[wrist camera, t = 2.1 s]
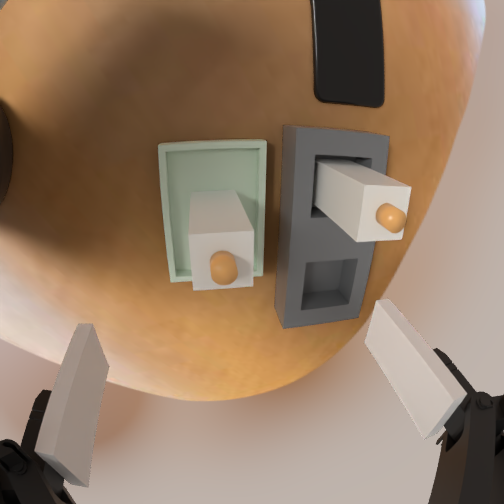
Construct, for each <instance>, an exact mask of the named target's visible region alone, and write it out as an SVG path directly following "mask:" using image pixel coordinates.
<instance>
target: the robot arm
mask: <svg viewBox="0 0 504 504" xmlns="http://www.w3.org/2000/svg"><path fill="white" fill-rule="evenodd" d="M7 1H8V0H0V11H1V9H2V8H3V6H4V5H5V3H6V2H7ZM12 160H13V148H12V138H11V132H10V128H9V124H8V121H7V118H6V115H5V113H4V111H3V109H2V108H1V106H0V204H1V202H2V200H3V199H4V196H5V194H6V191H7V188H8V185H9V181H10V177H11V171H12ZM364 343H365V345H366V346H367V348H368V349H369V351H370V352H371V354H372V356H373V357H374V359H375V360H376V362H377V363H378V365H379V366H380V368H381V369H382V371H383V373H384V374H385V376H386V377H387V379H388V381H389V382H390V384H391V386H392V387H393V389H394V390H395V392H396V394H397V395H398V397H399V398H400V400H401V402H402V403H403V405H404V407H405V408H406V410H407V412H408V413H409V415H410V416H411V418H412V420H413V422H414V423H415V425H416V427H417V428H418V430H419V432H420V434H421V435H422V437H423V439H424V440H425V439H427V438H429V437H431V436H433V435H435V434H437V433H438V432H439V431H440V429H441V428H442V427H443V426H444V427H445V428H446V431H445V432H444V433H443V434H442V436H441V437H440V438H439V439H438V440H437V442H436V444H437V445H438V444H439V443H440V442H441V441H442V439H443V442H442V444H441V445H442V447H441V453H440V458H439V463H438V467H437V472H436V477H435V480H434V484H433V488H432V493H431V496H430V499H429V503H428V504H504V431H503V430H504V395H501V396H495V397H491V396H490V395H489V394H487V393H485V392H476V391H475V390H474V389H473V387H472V386H471V385H470V384H469V382H468V381H467V380H466V378H465V377H464V376H463V375H462V373H461V372H460V371H459V370H457V367H456V366H455V365H454V364H453V363H452V361H451V360H450V359H449V357H448V356H447V355H446V354H445V353H443V352H442V351H440V350H439V349H438V348H436V349H432V348H431V347H430V346H429V345H428V343H427V342H426V341H425V340H424V339H423V337H422V336H421V335H420V334H419V333H418V331H417V330H416V329H415V328H414V327H413V326H412V324H411V323H410V322H409V321H408V320H407V319H406V317H405V316H404V315H403V314H402V313H401V312H400V310H399V309H398V308H397V307H396V306H395V305H394V304H393V302H392V301H391V300H390V299H389V298H388V299H382V300H376V303H375V307H374V310H373V314H372V318H371V321H370V325H369V329H368V331H367V335H366V338H365V341H364ZM108 370H109V365H108V363H107V360H106V358H105V355H104V353H103V350H102V347H101V345H100V342H99V339H98V337H97V334H96V331H95V328H94V325H93V324H78V325H77V327H76V330H75V332H74V335H73V337H72V339H71V342H70V344H69V347H68V349H67V352H66V354H65V357H64V359H63V362H62V365H61V367H60V370H59V373H58V375H57V378H56V381H55V384H54V387H53V390H52V391H49V390H42V392H41V393H40V394H39V395H38V397H37V398H36V399H35V402H34V405H33V407H32V411H31V414H30V416H29V418H30V419H29V420H28V423H27V426H26V429H25V432H24V436H23V439H22V443H21V446H19V445H18V444H17V443H16V442H15V441H13V440H9V439H5V440H2V441H0V504H76V503H75V502H74V500H73V499H72V497H71V495H70V494H69V492H68V491H67V489H66V488H65V487H64V486H63V483H64V479H65V480H66V481H68V482H69V483H70V484H72V485H78V486H83V487H88V486H89V477H90V468H91V461H92V460H91V459H92V453H93V447H94V440H95V434H96V427H97V423H98V417H99V411H100V407H101V402H102V396H103V392H104V387H105V383H106V378H107V374H108Z"/></svg>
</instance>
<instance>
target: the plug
mask: <svg viewBox="0 0 504 504" xmlns="http://www.w3.org/2000/svg"><path fill="white" fill-rule="evenodd" d="M188 237H189V250H190V261H191V272H192V283H193V291H196V290H211V289H225V288H238V287H250V286H253V267H254V229H253V227H252V225H251V223H250V221H249V219H248V217H247V215H246V212H245V210H244V208H243V206H242V204H241V202H240V200H239V198H238V195H237V193H236V191H235V190H217V191H198V192H191V198H190V213H189V231H188Z"/></svg>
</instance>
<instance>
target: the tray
mask: <svg viewBox="0 0 504 504" xmlns="http://www.w3.org/2000/svg"><path fill="white" fill-rule="evenodd" d="M266 153H267V141H265V140H263V139H229V140H201V141H183V142H168V143H160V144H159V145H158V158H159V174H160V188H161V201H162V212H163V222H164V232H165V241H166V250H167V258H168V266H169V274H170V281H171V282H185V281H192V272H191V261H190V250H189V237H188V231H189V213H190V198H191V192H198V191H217V190H235V191H236V193H237V195H238V198H239V200H240V202H241V204H242V206H243V208H244V210H245V212H246V215H247V217H248V219H249V221H250V223H251V225H252V227H253V229H254V267H253V277H255V276H263V257H264V226H265V192H266Z"/></svg>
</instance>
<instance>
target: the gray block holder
mask: <svg viewBox="0 0 504 504" xmlns="http://www.w3.org/2000/svg"><path fill="white" fill-rule="evenodd" d="M388 148H389V136H386V135H381V134H377V133H372V132H367V131H358V130H349V129H339V128H327V127H314V126H297V125H283V146H282V173H281V197H280V219H279V238H278V256H277V274H276V290H275V305H274V307H275V310H276V312H277V315H278V317H279V320H280V322H281V325H282V328H283V329H286V328H293V327H301V326H308V325H316V324H322V323H329V322H336V321H342V320H348V319H354V318H358V317H359V313H360V309H361V305H362V301H363V297H364V293H365V289H366V284H367V280H368V275H369V271H370V266H371V261H372V256H373V251H374V246H375V241H385V240H402V236H403V232H404V227H405V224H406V220H407V218H406V216H407V211H408V205H409V199H410V193H411V187H410V186H408V185H406V184H404V183H401V182H399V181H397V180H395V179H393V178H390V177H388V176H386V167H387V158H388Z"/></svg>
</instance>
